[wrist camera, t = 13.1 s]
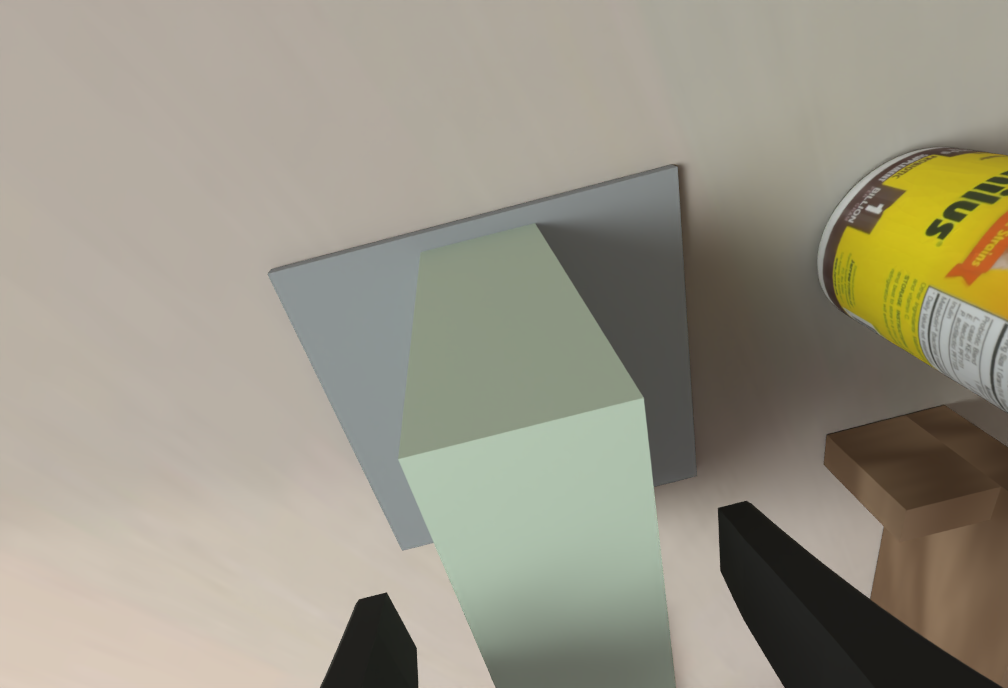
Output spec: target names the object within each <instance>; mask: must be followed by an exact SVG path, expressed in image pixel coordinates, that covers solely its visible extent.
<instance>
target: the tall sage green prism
mask: <svg viewBox="0 0 1008 688" xmlns="http://www.w3.org/2000/svg"><path fill="white" fill-rule="evenodd" d="M398 460H399V462H400V465H401V467H402V469H403V472H404V474H405V477H406V479H407V481H408V484H409V486H410V488H411V491H412V493H413V495H414V498H415V500H416V502H417V505H418V507H419V509H420V512H421V514H422V516H423V519H424V521H425V523H426V526H427V528H428V530H429V533H430V535H431V537H432V540H433V542H434V544H435V547H436V549H437V551H438V554H439V556H440V558H441V561H442V563H443V565H444V568H445V570H446V573H447V575H448V577H449V580H450V582H451V584H452V587H453V589H454V591H455V594H456V596H457V598H458V601H459V603H460V605H461V608H462V610H463V612H464V615H465V617H466V619H467V622H468V624H469V626H470V629H471V631H472V633H473V636H474V638H475V640H476V643H477V645H478V647H479V650H480V652H481V654H482V657H483V659H484V661H485V664H486V666H487V668H488V671H489V673H490V676H491V678H492V680H493V683H494V685H495V687H496V688H676V685H675V676H674V667H673V657H672V648H671V639H670V630H669V621H668V612H667V603H666V594H665V585H664V576H663V567H662V558H661V549H660V540H659V531H658V522H657V513H656V504H655V495H654V486H653V477H652V468H651V459H650V450H649V441H648V432H647V423H646V414H645V405H644V397H643V396H642V394H641V393H640V391H639V389H638V388H637V386H636V385H635V383H634V381H633V380H632V378H631V377H630V375H629V373H628V372H627V370H626V369H625V367H624V365H623V364H622V362H621V360H620V359H619V357H618V356H617V354H616V352H615V351H614V349H613V348H612V346H611V344H610V343H609V341H608V340H607V338H606V336H605V335H604V333H603V332H602V330H601V328H600V327H599V325H598V324H597V322H596V320H595V319H594V317H593V316H592V314H591V312H590V311H589V309H588V307H587V306H586V304H585V303H584V301H583V299H582V298H581V296H580V295H579V293H578V291H577V290H576V288H575V287H574V285H573V283H572V282H571V280H570V279H569V277H568V275H567V274H566V272H565V271H564V269H563V267H562V266H561V264H560V262H559V261H558V259H557V258H556V256H555V254H554V253H553V251H552V250H551V248H550V246H549V245H548V243H547V242H546V240H545V238H544V237H543V235H542V234H541V232H540V230H539V229H538V227H537V226H536V224H535V223H534V224H530V225H526V226H522V227H518V228H514V229H510V230H506V231H502V232H498V233H494V234H490V235H486V236H482V237H478V238H474V239H471V240H467V241H463V242H459V243H455V244H451V245H447V246H443V247H439V248H435V249H431V250H427V251H423V252H421V253H420V262H419V271H418V280H417V289H416V299H415V308H414V317H413V326H412V336H411V345H410V354H409V363H408V373H407V382H406V391H405V400H404V409H403V419H402V428H401V437H400V446H399V456H398Z"/></svg>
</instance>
